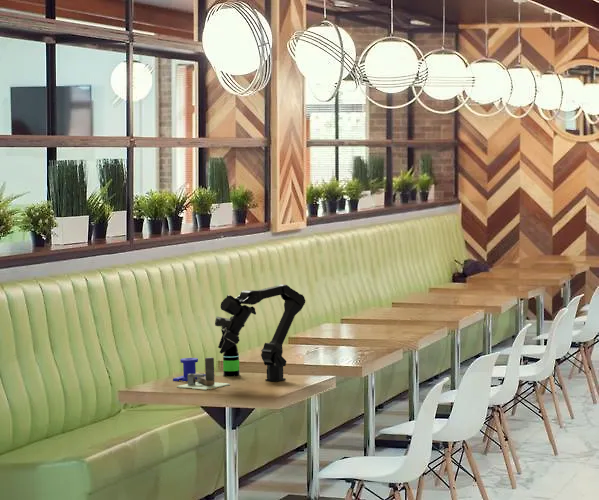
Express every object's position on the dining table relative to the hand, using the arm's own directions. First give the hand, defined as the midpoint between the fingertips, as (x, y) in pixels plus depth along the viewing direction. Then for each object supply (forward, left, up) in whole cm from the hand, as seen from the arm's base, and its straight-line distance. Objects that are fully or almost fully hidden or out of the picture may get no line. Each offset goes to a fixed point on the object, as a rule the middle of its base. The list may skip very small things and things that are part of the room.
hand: (219, 350), depth 505 cm
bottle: (+14, -23, -15) cm, 31 cm away
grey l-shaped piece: (+5, +3, -14) cm, 15 cm away
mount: (+24, -7, -15) cm, 29 cm away
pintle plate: (+5, +5, -15) cm, 16 cm away
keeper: (+8, +6, -15) cm, 18 cm away
